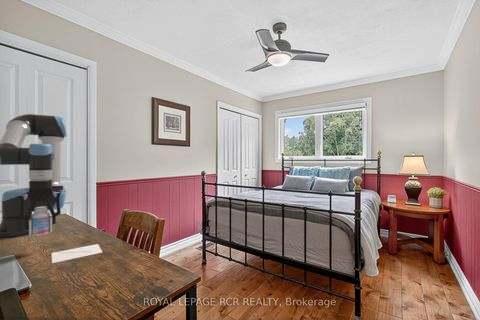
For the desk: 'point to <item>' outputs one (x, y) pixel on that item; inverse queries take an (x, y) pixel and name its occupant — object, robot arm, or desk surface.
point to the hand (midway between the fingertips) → (41, 232)
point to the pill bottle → (40, 221)
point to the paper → (75, 253)
